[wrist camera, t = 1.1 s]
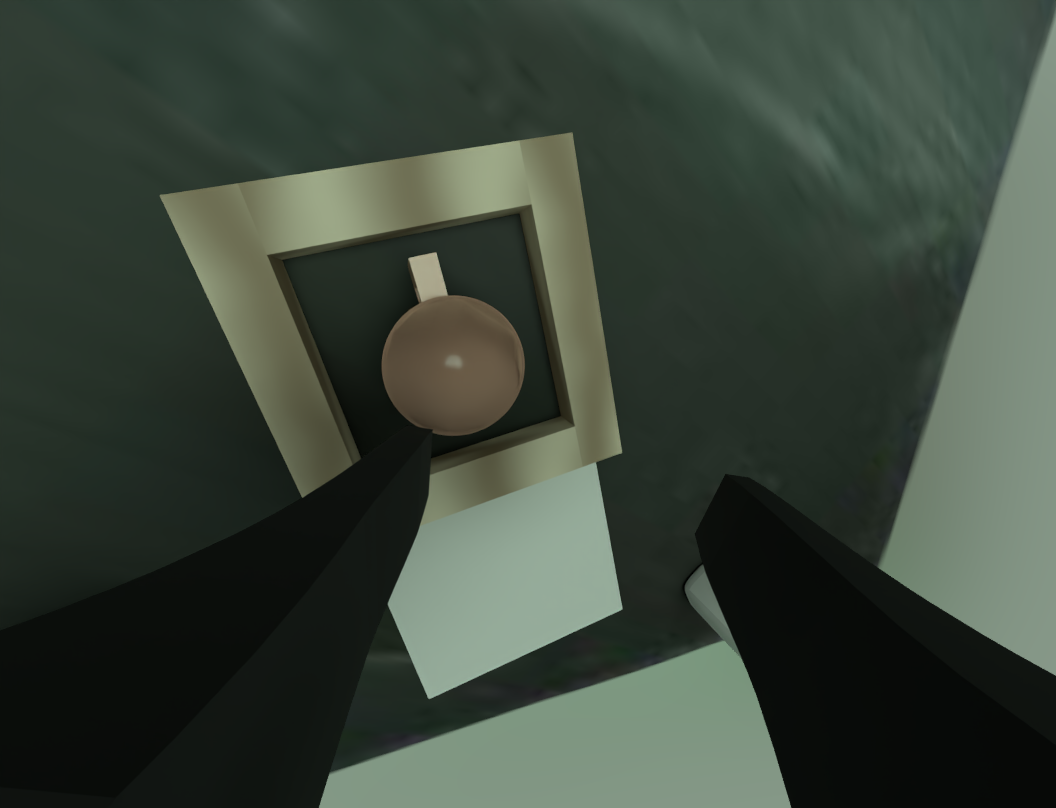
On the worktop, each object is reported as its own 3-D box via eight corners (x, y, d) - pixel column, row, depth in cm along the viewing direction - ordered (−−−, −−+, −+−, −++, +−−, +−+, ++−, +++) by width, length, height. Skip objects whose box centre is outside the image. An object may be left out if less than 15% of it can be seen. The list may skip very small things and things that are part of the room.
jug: (407, 411, 20) (408, 453, 14) (362, 278, 18) (343, 268, 12) (502, 383, 21) (537, 412, 16) (470, 255, 19) (497, 236, 14)
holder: (337, 535, 21) (330, 558, 19) (188, 207, 15) (159, 195, 14) (605, 440, 24) (622, 452, 22) (555, 148, 19) (572, 132, 17)
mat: (428, 694, 25) (428, 699, 25) (363, 543, 21) (362, 546, 21) (620, 606, 28) (622, 609, 28) (593, 460, 24) (595, 462, 24)
